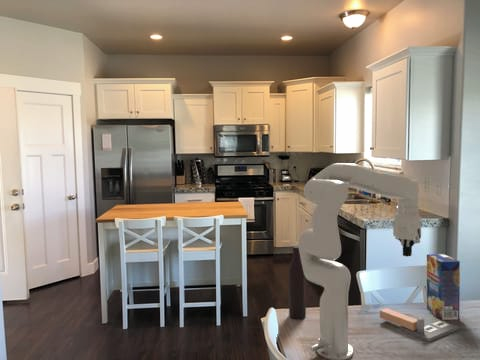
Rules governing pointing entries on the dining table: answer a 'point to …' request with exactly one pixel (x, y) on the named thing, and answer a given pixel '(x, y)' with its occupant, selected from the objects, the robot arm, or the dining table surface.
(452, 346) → the dining table surface
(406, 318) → the swing bar
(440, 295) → the juice carton
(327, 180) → the robot arm
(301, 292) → the wine bottle
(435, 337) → the label board
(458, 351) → the dining table surface
